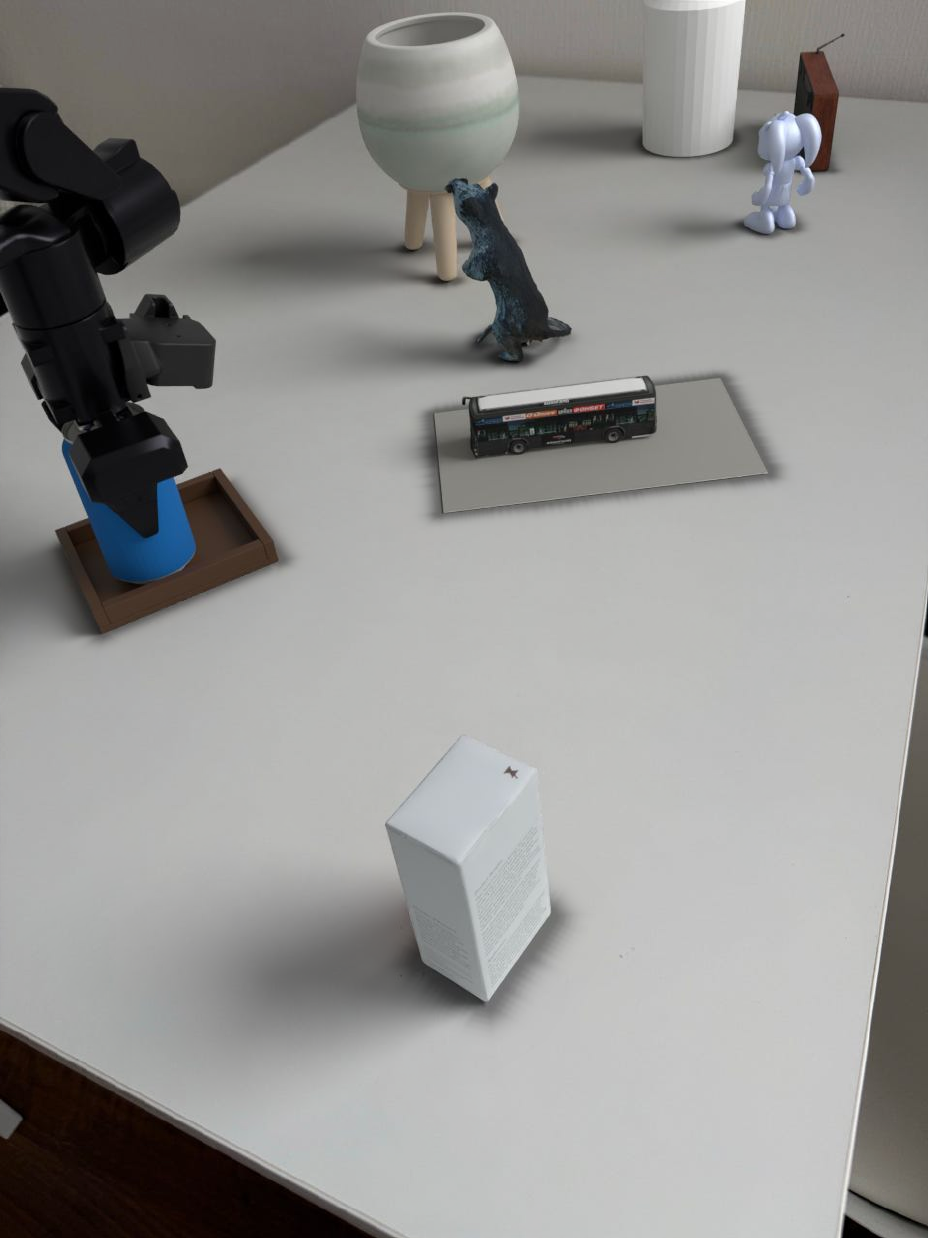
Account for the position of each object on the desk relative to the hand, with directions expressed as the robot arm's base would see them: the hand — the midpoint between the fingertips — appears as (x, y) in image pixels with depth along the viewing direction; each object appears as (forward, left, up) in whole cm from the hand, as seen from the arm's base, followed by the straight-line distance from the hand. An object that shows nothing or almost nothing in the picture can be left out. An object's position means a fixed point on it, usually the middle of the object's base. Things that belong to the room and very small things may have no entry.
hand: (137, 511), depth 74 cm
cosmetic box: (+5, -40, -6) cm, 41 cm away
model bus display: (+35, -6, -6) cm, 36 cm away
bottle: (+84, +43, -6) cm, 95 cm away
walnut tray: (+1, +1, -5) cm, 6 cm away
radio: (+92, +30, -6) cm, 97 cm away
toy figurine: (+74, +16, -6) cm, 76 cm away
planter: (+44, +33, -6) cm, 55 cm away
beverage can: (0, 0, -5) cm, 5 cm away
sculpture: (+39, +12, -6) cm, 41 cm away
